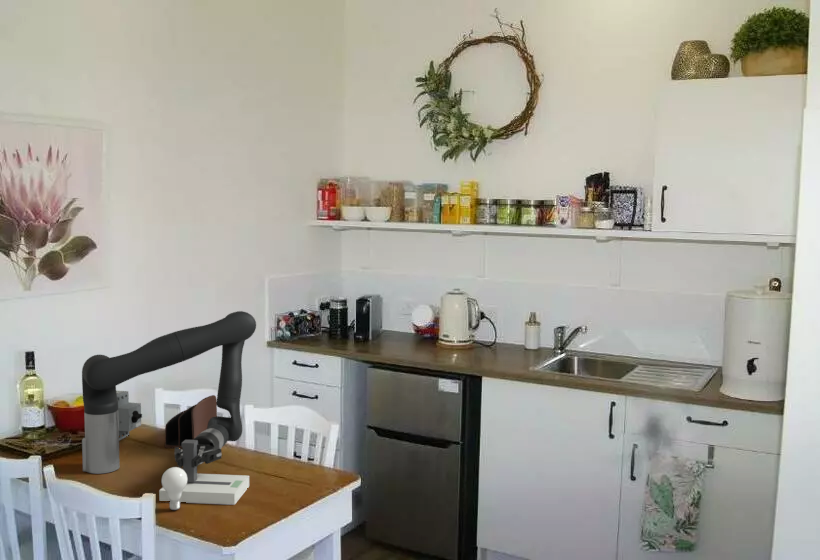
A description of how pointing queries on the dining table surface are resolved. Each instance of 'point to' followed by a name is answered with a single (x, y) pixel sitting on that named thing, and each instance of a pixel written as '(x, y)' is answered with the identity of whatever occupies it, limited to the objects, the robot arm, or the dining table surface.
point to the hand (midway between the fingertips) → (186, 463)
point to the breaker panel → (212, 489)
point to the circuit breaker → (127, 414)
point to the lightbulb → (174, 485)
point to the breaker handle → (189, 459)
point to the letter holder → (190, 422)
